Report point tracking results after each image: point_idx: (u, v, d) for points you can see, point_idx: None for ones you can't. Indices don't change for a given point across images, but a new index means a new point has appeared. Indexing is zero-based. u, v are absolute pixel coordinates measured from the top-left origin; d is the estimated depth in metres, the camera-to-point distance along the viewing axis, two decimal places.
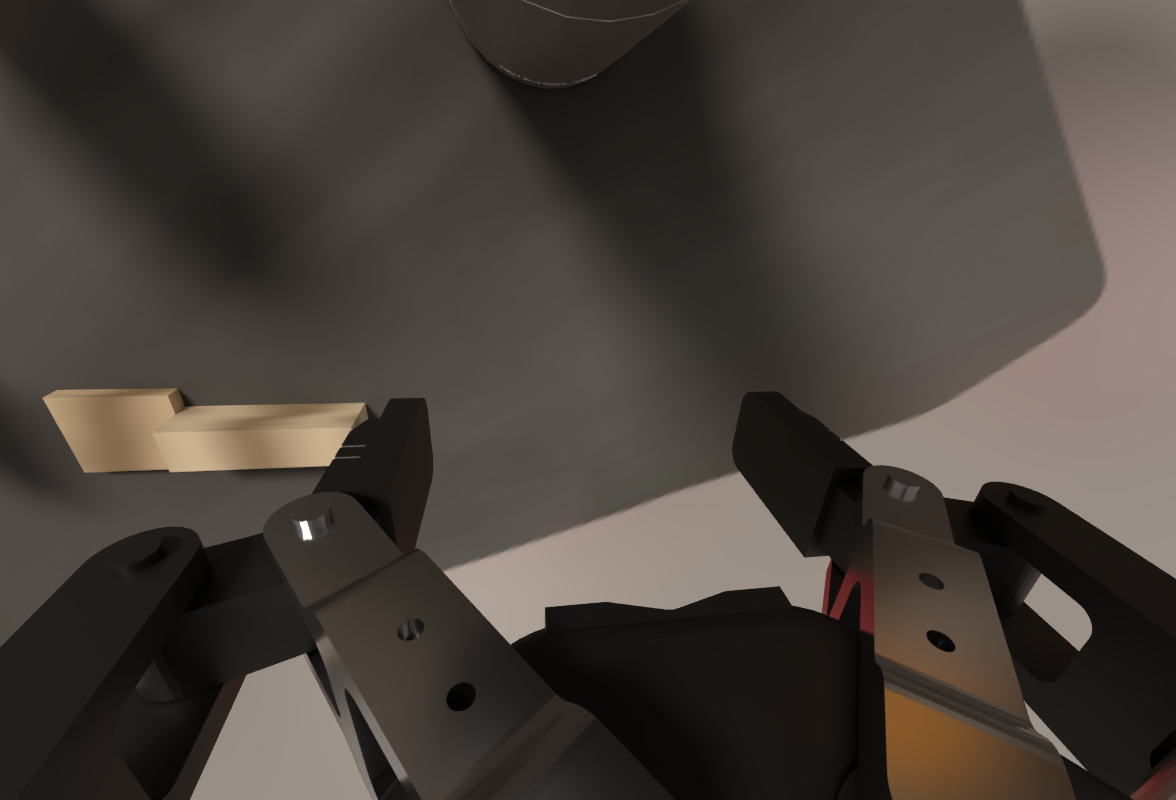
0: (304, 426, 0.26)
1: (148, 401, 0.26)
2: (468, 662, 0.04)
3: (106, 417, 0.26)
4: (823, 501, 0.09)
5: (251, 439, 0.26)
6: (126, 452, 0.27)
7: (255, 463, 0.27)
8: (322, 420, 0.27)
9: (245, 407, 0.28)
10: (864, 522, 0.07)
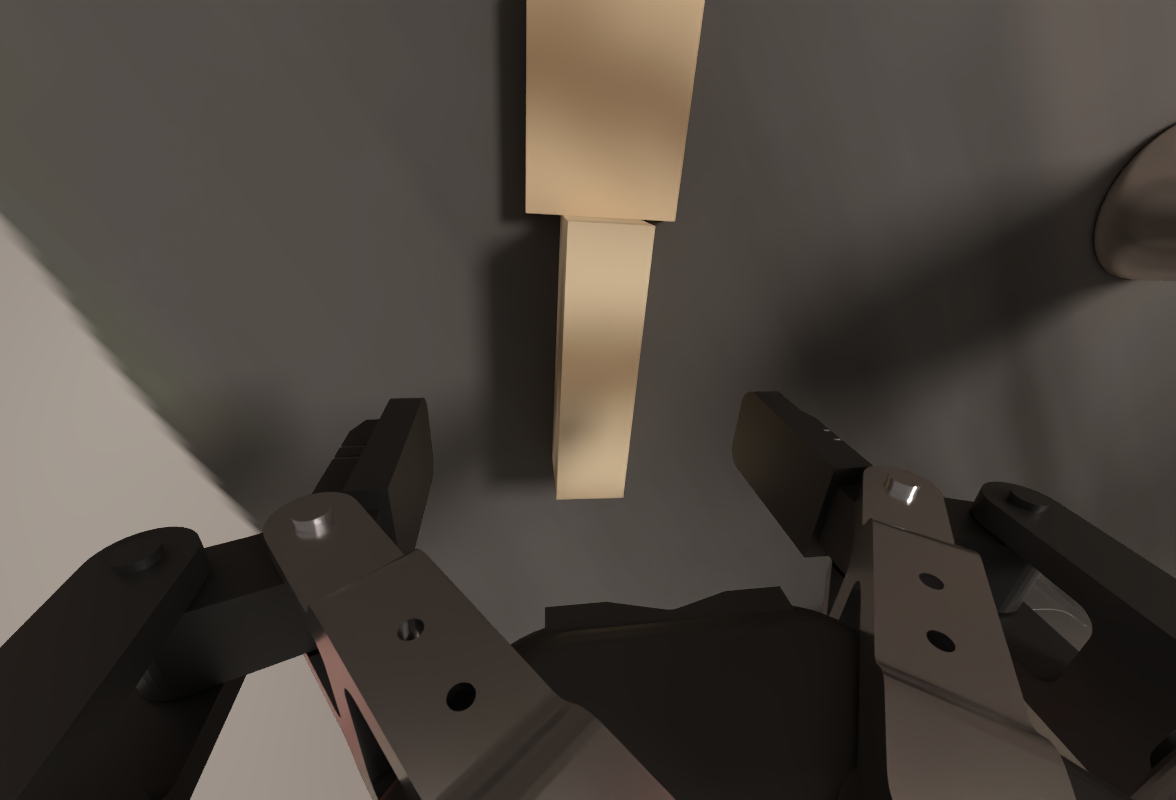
0: (628, 438, 0.17)
1: (669, 186, 0.15)
2: (468, 662, 0.04)
3: (649, 96, 0.14)
4: (823, 501, 0.09)
5: (620, 371, 0.16)
6: (572, 94, 0.14)
7: (572, 365, 0.15)
8: None
9: None
10: (864, 522, 0.07)
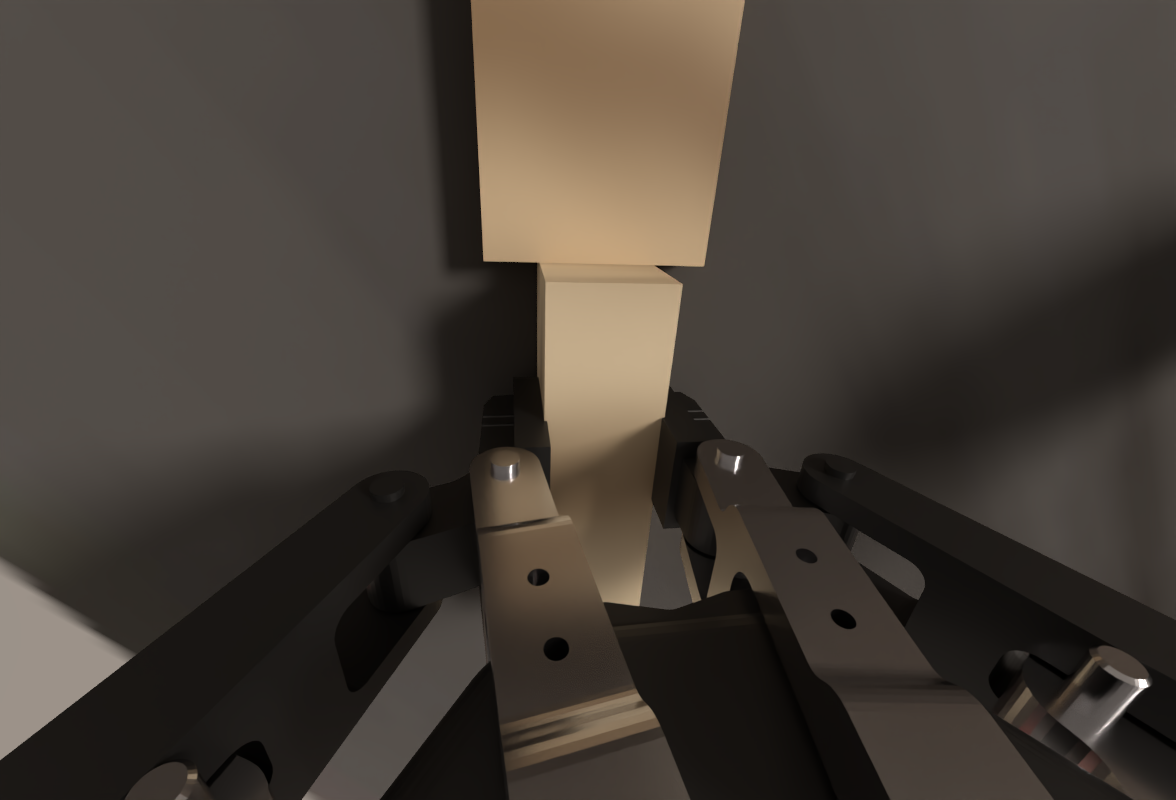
0: (641, 567, 0.12)
1: (696, 216, 0.10)
2: (572, 624, 0.05)
3: (668, 82, 0.09)
4: (672, 474, 0.10)
5: (629, 487, 0.11)
6: (547, 80, 0.09)
7: (560, 483, 0.10)
8: None
9: None
10: (720, 506, 0.07)
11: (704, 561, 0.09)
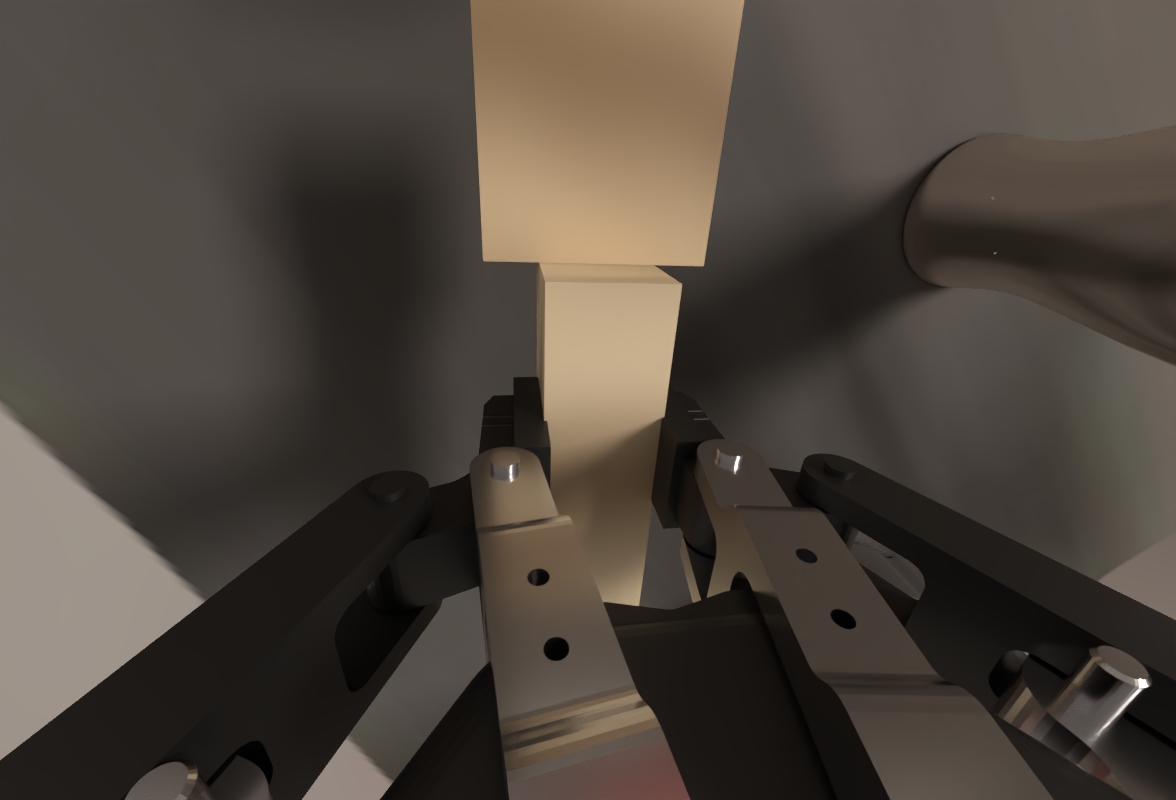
0: (640, 566, 0.12)
1: (696, 216, 0.10)
2: (571, 623, 0.05)
3: (667, 82, 0.09)
4: (672, 473, 0.10)
5: (629, 487, 0.11)
6: (547, 80, 0.09)
7: (559, 482, 0.10)
8: None
9: None
10: (720, 506, 0.07)
11: (704, 561, 0.09)
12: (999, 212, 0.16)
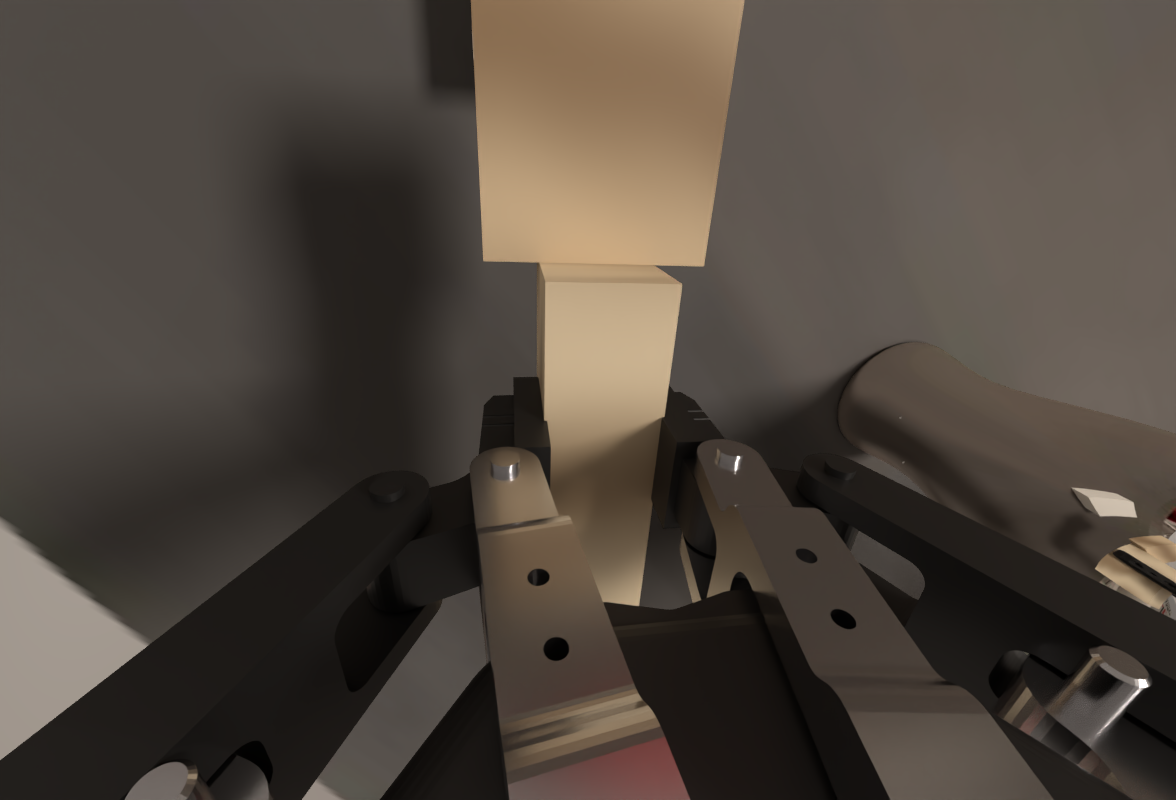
0: (640, 566, 0.12)
1: (696, 216, 0.10)
2: (571, 623, 0.05)
3: (668, 82, 0.09)
4: (672, 474, 0.10)
5: (629, 487, 0.11)
6: (547, 80, 0.09)
7: (559, 482, 0.10)
8: None
9: None
10: (720, 506, 0.07)
11: (704, 561, 0.09)
12: (905, 432, 0.20)
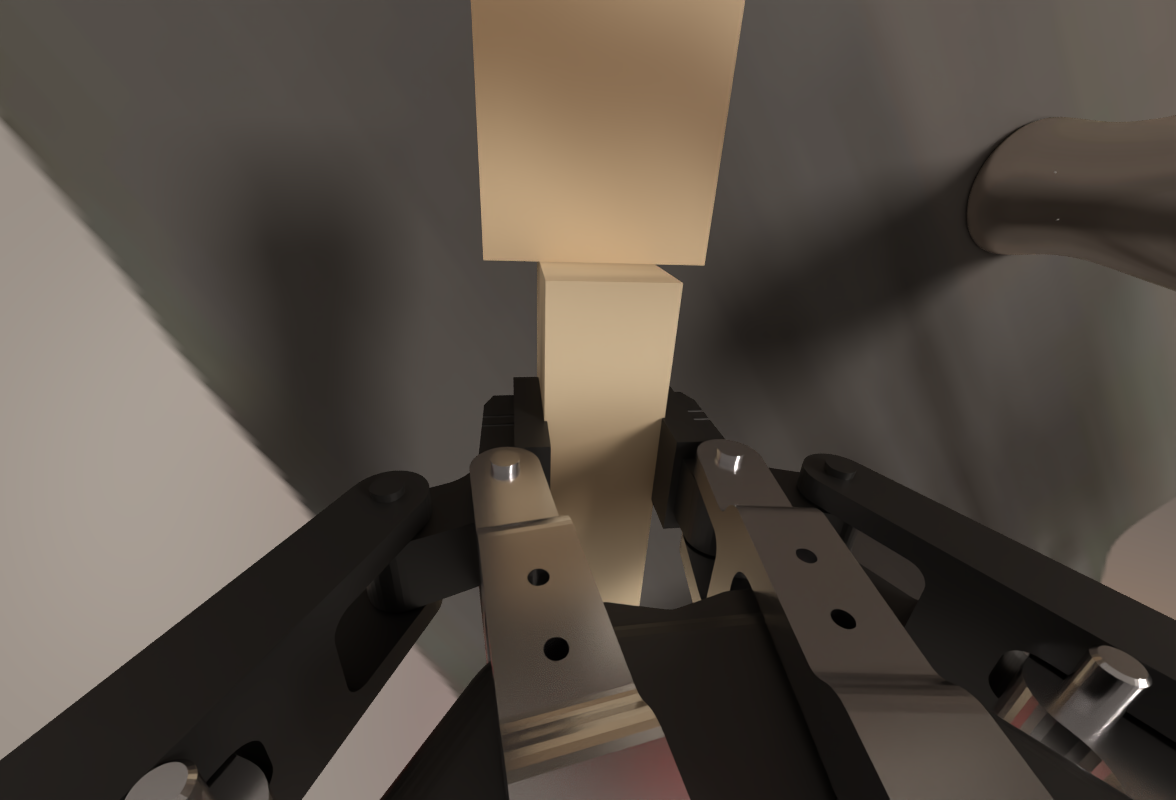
0: (641, 566, 0.12)
1: (696, 215, 0.10)
2: (572, 623, 0.05)
3: (668, 80, 0.09)
4: (672, 474, 0.10)
5: (629, 486, 0.11)
6: (547, 77, 0.09)
7: (560, 482, 0.10)
8: None
9: None
10: (720, 506, 0.07)
11: (704, 561, 0.09)
12: (1063, 183, 0.19)
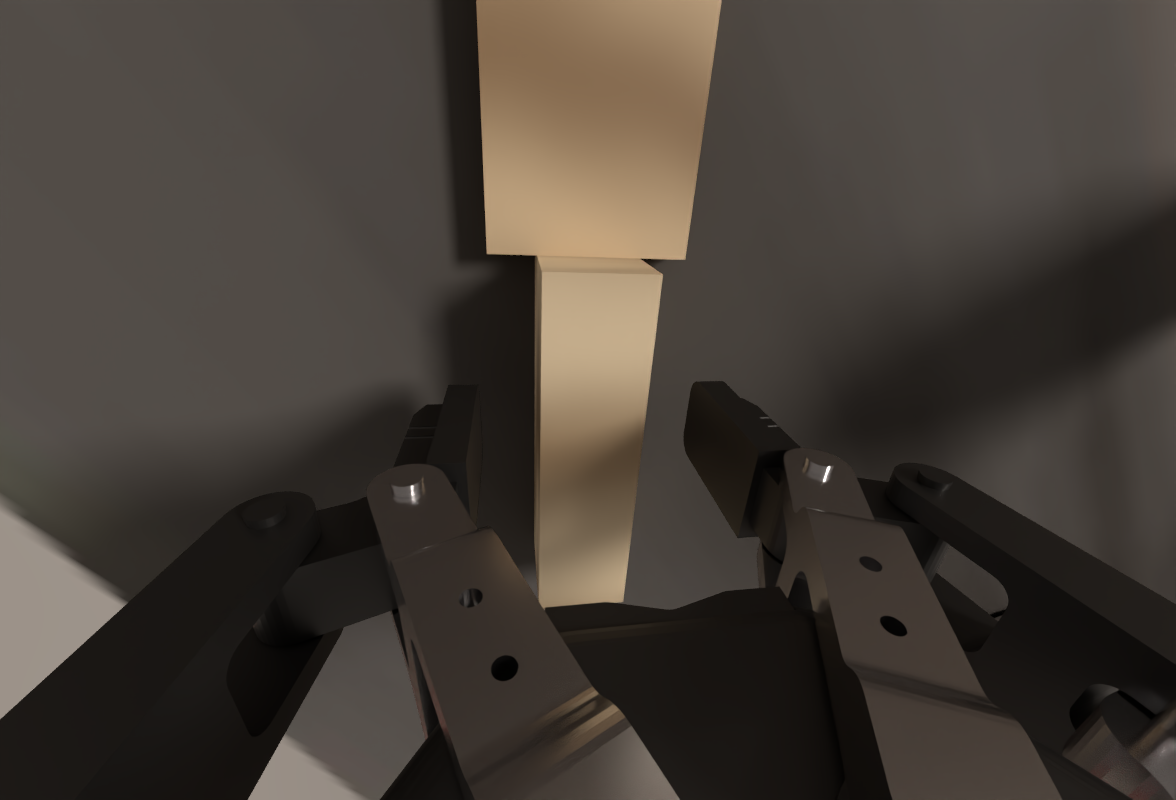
0: (628, 533, 0.14)
1: (677, 214, 0.11)
2: (515, 638, 0.05)
3: (651, 95, 0.10)
4: (751, 483, 0.09)
5: (617, 458, 0.12)
6: (544, 93, 0.10)
7: (554, 453, 0.12)
8: None
9: None
10: (795, 509, 0.07)
11: (778, 567, 0.09)
12: None
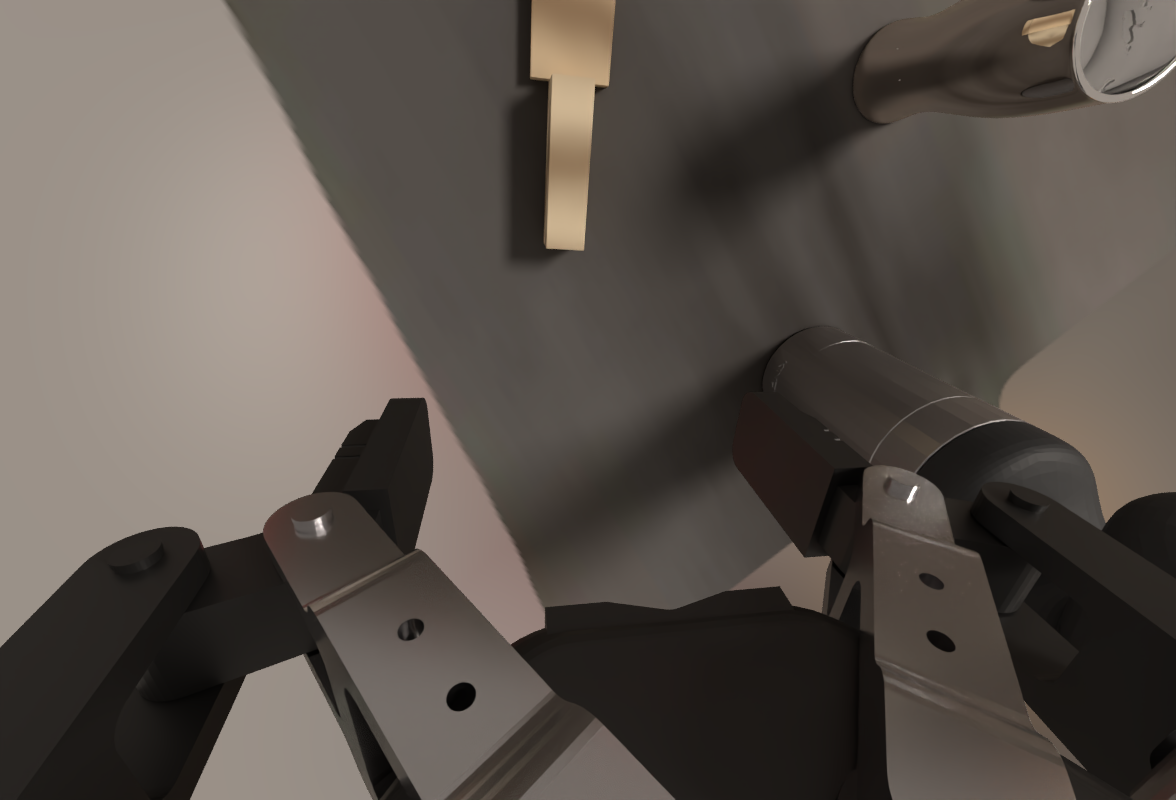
0: (585, 211, 0.32)
1: (604, 65, 0.30)
2: (468, 662, 0.04)
3: (592, 15, 0.28)
4: (823, 501, 0.09)
5: (580, 164, 0.30)
6: (554, 12, 0.28)
7: (555, 158, 0.30)
8: None
9: None
10: (864, 522, 0.07)
11: None
12: (900, 54, 0.29)
